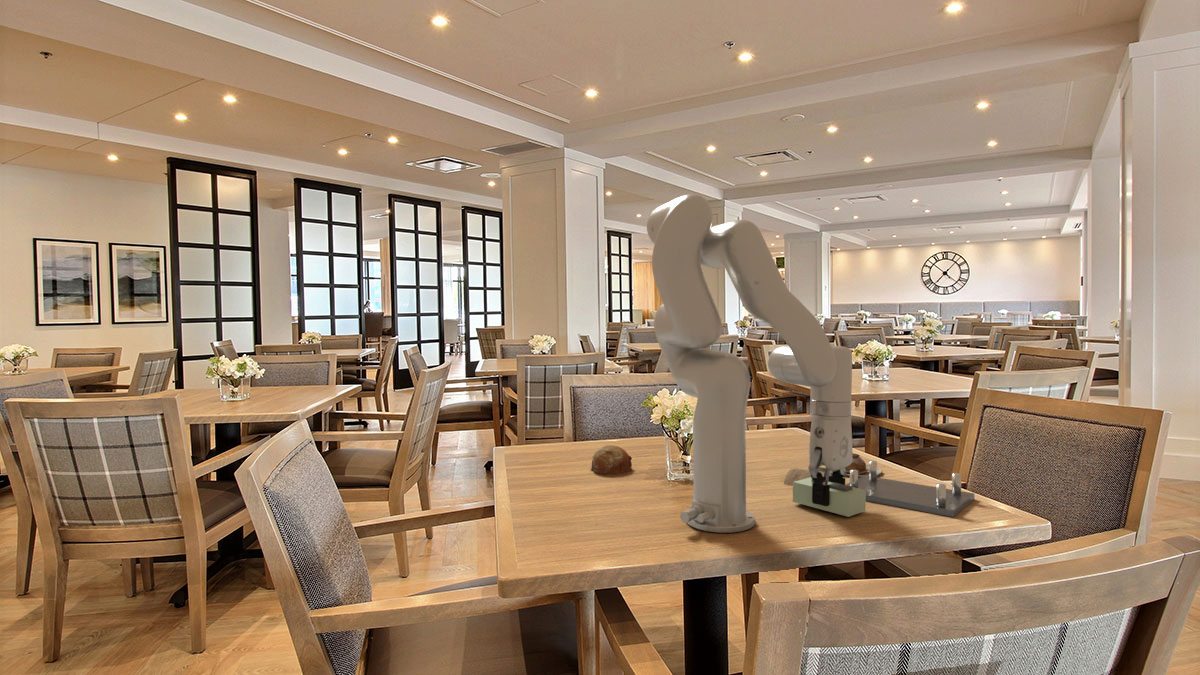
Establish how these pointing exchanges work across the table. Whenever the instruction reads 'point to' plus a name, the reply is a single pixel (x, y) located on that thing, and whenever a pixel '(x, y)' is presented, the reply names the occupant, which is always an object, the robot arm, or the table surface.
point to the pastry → (859, 466)
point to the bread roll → (611, 460)
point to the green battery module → (832, 497)
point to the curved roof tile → (797, 475)
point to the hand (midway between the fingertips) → (828, 499)
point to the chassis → (913, 493)
